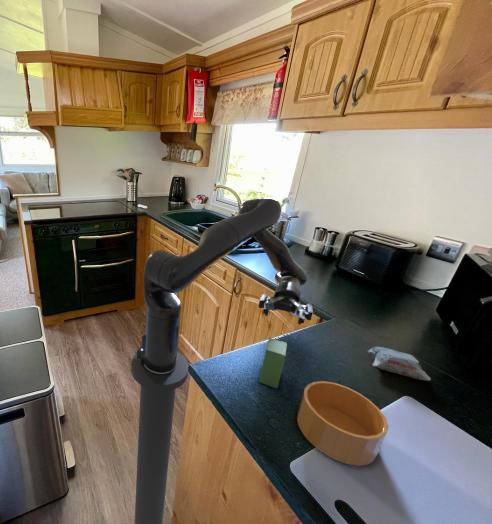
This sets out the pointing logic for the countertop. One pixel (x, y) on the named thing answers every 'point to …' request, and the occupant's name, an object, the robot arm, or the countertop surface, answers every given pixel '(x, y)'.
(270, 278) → the countertop surface
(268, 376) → the green block
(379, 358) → the packaged food
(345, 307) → the countertop surface
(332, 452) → the orange round bowl
